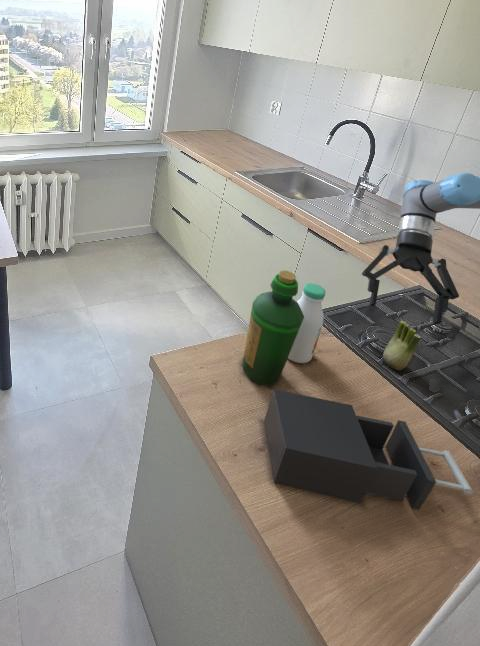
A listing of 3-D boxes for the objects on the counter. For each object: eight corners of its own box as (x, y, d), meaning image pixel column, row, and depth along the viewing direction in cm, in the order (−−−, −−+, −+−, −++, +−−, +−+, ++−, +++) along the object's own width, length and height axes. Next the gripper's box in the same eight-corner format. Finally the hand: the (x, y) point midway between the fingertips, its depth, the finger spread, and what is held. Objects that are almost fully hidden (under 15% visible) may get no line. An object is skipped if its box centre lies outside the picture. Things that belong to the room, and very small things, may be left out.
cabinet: (338, 437, 85) (352, 404, 81) (360, 503, 74) (377, 468, 70) (263, 421, 88) (273, 389, 84) (273, 482, 76) (285, 448, 72)
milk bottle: (303, 369, 101) (325, 303, 93) (273, 351, 106) (291, 286, 98) (316, 353, 106) (338, 289, 98) (287, 337, 111) (305, 274, 103)
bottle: (254, 348, 107) (278, 255, 95) (293, 376, 99) (325, 279, 87) (228, 367, 101) (251, 270, 89) (267, 398, 93) (297, 297, 82)
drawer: (435, 457, 81) (450, 430, 78) (469, 522, 71) (489, 493, 68) (318, 432, 85) (329, 406, 82) (335, 490, 75) (348, 462, 71)
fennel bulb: (406, 376, 100) (425, 338, 96) (383, 369, 102) (400, 331, 97) (401, 359, 105) (418, 322, 100) (378, 353, 107) (394, 316, 102)
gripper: (466, 253, 109) (458, 333, 103) (357, 228, 119) (344, 300, 113) (481, 244, 102) (473, 329, 96) (364, 219, 112) (351, 295, 106)
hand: (403, 314), depth 104 cm, fingers open, 13 cm apart
